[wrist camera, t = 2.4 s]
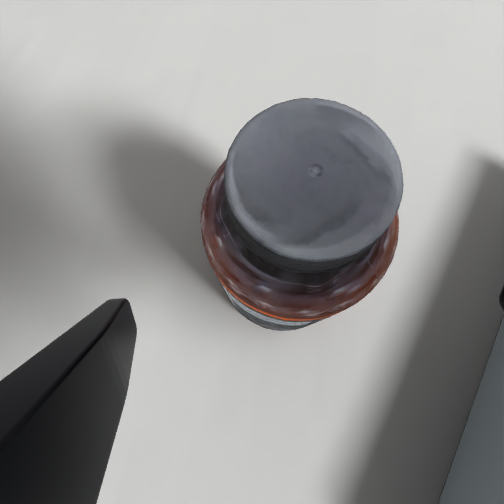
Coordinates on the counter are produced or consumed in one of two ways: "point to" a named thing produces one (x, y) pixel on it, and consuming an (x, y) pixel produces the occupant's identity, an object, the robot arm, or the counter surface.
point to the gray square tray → (482, 440)
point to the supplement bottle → (303, 213)
